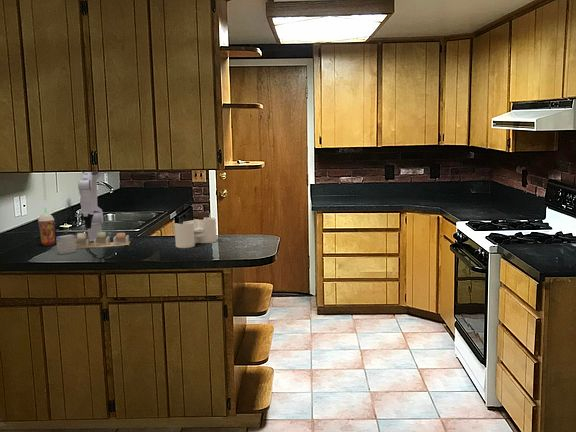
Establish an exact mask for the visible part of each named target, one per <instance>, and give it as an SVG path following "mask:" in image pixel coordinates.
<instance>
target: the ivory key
mask: <svg viewBox="0 0 576 432" xmlns="http://www.w3.org/2000/svg"><path fill="white" fill-rule="evenodd" d="M76 237H77V239H78V240H86V238H87V233H86V232H77V233H76Z"/></svg>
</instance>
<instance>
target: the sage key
mask: <svg viewBox="0 0 576 432" xmlns="http://www.w3.org/2000/svg"><path fill="white" fill-rule="evenodd" d="M106 237H107V233H106V231H102V232H97V239H105V238H106Z"/></svg>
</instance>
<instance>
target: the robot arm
mask: <svg viewBox="0 0 576 432" xmlns="http://www.w3.org/2000/svg"><path fill="white" fill-rule="evenodd" d="M81 172H82V171H81ZM101 175H102V172H82V174H81V177H80V180H79V181H78V182H77V187H78V192H79V193H78V194H79V196H80V208H81V209H80V210H81V211H78V212H79V214H83V215H81V218H82V220H83V222H84V227H85V229H87V236H88V237H87V238H90V242H94V238H95V237H97V232H103V230H102V224H103V223H104V213H103V212H104V211H103V209H102V208H100V207H99V206H98V179H99V178H100V177H101Z"/></svg>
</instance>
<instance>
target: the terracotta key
mask: <svg viewBox="0 0 576 432" xmlns="http://www.w3.org/2000/svg"><path fill="white" fill-rule="evenodd" d="M125 235H126V232H117V233H116V236H117V238H121V237H125Z"/></svg>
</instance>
